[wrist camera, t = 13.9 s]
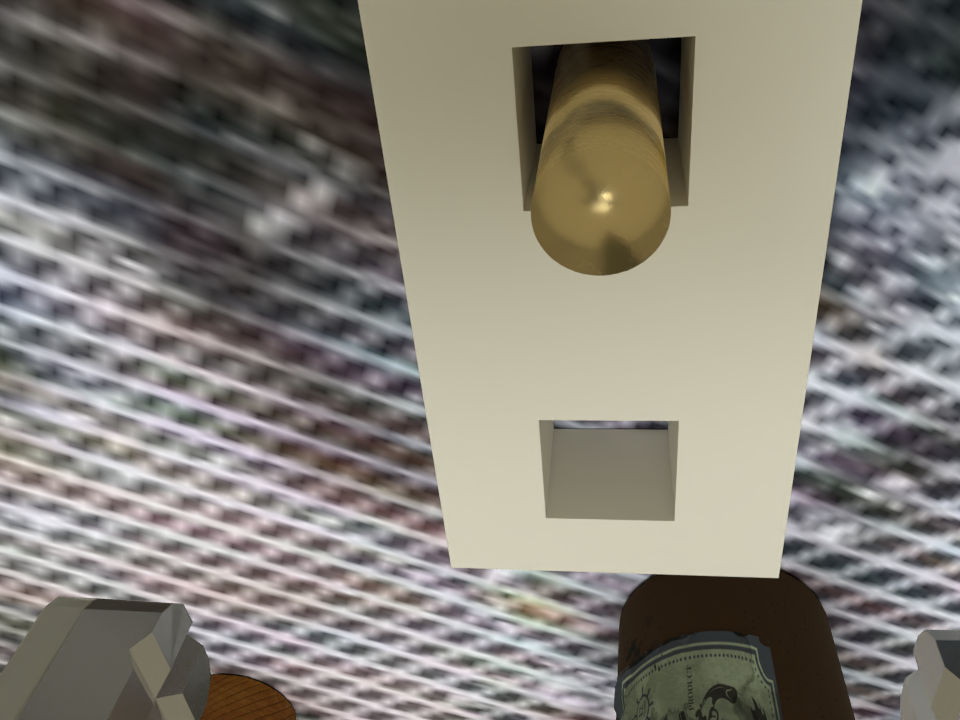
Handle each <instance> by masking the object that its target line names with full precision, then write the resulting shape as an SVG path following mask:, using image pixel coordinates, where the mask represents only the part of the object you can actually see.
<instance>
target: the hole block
mask: <svg viewBox="0 0 960 720" xmlns="http://www.w3.org/2000/svg"><path fill="white" fill-rule="evenodd" d="M358 5H359V11H360V17H361V24H362V30H363V36H364V42H365V48H366V54H367V60H368V66H369V72H370V78H371V84H372V90H373V96H374V102H375V108H376V114H377V120H378V126H379V132H380V138H381V144H382V150H383V157H384V163H385V169H386V175H387V181H388V187H389V193H390V199H391V205H392V211H393V217H394V223H395V229H396V235H397V241H398V247H399V253H400V259H401V265H402V271H403V277H404V283H405V290H406V296H407V302H408V308H409V314H410V320H411V326H412V332H413V338H414V344H415V350H416V356H417V362H418V368H419V374H420V380H421V386H422V392H423V398H424V404H425V410H426V416H427V423H428V429H429V435H430V441H431V447H432V453H433V459H434V465H435V471H436V477H437V483H438V489H439V495H440V501H441V507H442V513H443V519H444V525H445V531H446V537H447V543H448V550H449V556H450V562H451V567H454V568H484V569H515V570H545V571H576V572H606V573H637V574H667V575H698V576H729V577H759V578H779V572H780V565H781V558H782V551H783V545H784V538H785V531H786V524H787V517H788V510H789V503H790V496H791V489H792V482H793V476H794V469H795V462H796V455H797V448H798V441H799V434H800V427H801V420H802V414H803V407H804V400H805V393H806V386H807V379H808V372H809V365H810V358H811V351H812V345H813V338H814V331H815V324H816V317H817V310H818V303H819V296H820V289H821V282H822V276H823V269H824V262H825V255H826V248H827V241H828V234H829V227H830V220H831V213H832V207H833V200H834V193H835V186H836V179H837V172H838V165H839V158H840V151H841V144H842V138H843V131H844V124H845V117H846V110H847V103H848V96H849V89H850V82H851V76H852V69H853V62H854V55H855V48H856V41H857V34H858V27H859V20H860V13H861V7H862V0H358ZM673 37H681V65H680V94H679V123H678V138H663V141H664V150H665V159H666V167H667V176H668V185H669V194H670V202H671V219H670V224H669V228H668V231H667V233H666V236H665V238H664V240H663V241H662V243H661V245H660V246H659V247H658V249H657V250H656V251H655V252H654V253H653V254H652V255H651V256H650V257H649V258H648V259H647V260H645V261H644V262H643V263H641V264H639V265H638V266H636V267H634V268H632V269H630V270H628V271H625V272H621V273H618V274H613V275H604V276H596V275H587V274H582V273H578V272H575V271H572V270H570V269H567V268H565V267H564V266H562V265H560V264H559V263H557V262H556V261H554V260H553V259H552V258H551V257H550V256H549V255H548V254H547V253H546V252H545V251H544V250H543V248H542V247H541V245H540V244H539V242H538V241H537V238H536V236H535V234H534V231H533V227H532V223H531V204H532V198H533V192H534V187H535V181H536V176H537V170H538V165H539V159H540V154H541V148H542V144H537V141H536V124H535V108H534V91H533V75H532V58H531V46H543V45H559V44H576V43H592V42H608V41H625V40H641V39H657V38H673ZM553 420H609V421H668V430H650V429H554V421H553Z"/></svg>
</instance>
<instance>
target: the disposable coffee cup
mask: <svg viewBox="0 0 960 720" xmlns="http://www.w3.org/2000/svg"><path fill="white" fill-rule="evenodd" d="M200 720H296V715H295V712H294V709H293V708H292V706H291V704H290V703H289V702H288V701H287V700H286V699H285V698H284V697H283V696H282V695H281V694H280V693H278V692H277V691H276V690H274V689H272V688H271V687H269V686H267V685H265V684H263V683H261V682H258V681H255V680H252V679H249V678H246V677H241V676H236V675H213V676H211V680H210V687H209V693H208V700H207V704H206V707H205V709H204V712H203V714H202V717H201V719H200Z"/></svg>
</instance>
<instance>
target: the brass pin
mask: <svg viewBox="0 0 960 720" xmlns="http://www.w3.org/2000/svg"><path fill="white" fill-rule="evenodd" d="M670 219H671V202H670V194H669V185H668V176H667V167H666V159H665V150H664V141H663V133H662V124H661V115H660V106H659V98H658V89H657V80H656V72H655V63H654V57H653V53H652V50H651V48H650V46H649V44H648V42H647V41H646V39H641V40H625V41H608V42H592V43H576V44H564V46H563V47H562V49H561V51H560V54H559V57H558V60H557V65H556V71H555V76H554V82H553V87H552V93H551V98H550V104H549V109H548V115H547V120H546V126H545V132H544V137H543V143H542V148H541V154H540V159H539V165H538V170H537V176H536V181H535V187H534V192H533V198H532V204H531V223H532V227H533V231H534V234H535V236H536V238H537V241H538V242H539V244H540V245H541V247H542V248H543V250H544V251H545V252H546V253H547V254H548V255H549V256H550V257H551V258H552V259H553V260H554V261H556V262H557V263H559V264H560V265H562V266H564V267H565V268H567V269H570V270H572V271H575V272H578V273H582V274H587V275H596V276H604V275H613V274H618V273H621V272H625V271H628V270H630V269H632V268H634V267H636V266H638V265H639V264H641V263H643V262H644V261H645V260H647V259H648V258H649V257H650V256H651V255H652V254H653V253H654V252H655V251H656V250H657V249H658V247H659V246H660V245H661V243H662V241H663V240H664V238H665V236H666V233H667V231H668V228H669V224H670Z"/></svg>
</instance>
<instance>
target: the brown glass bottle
mask: <svg viewBox="0 0 960 720" xmlns="http://www.w3.org/2000/svg"><path fill="white" fill-rule="evenodd" d="M617 679H618V681H617V683H616V686H615V698H614V709H615V711H616V720H855V717H854V714H853V710H852V706H851V703H850V699H849V696H848V692H847V688H846V684H845V681H844V677H843V673H842V670H841V666H840V662H839V659H838V655H837V651H836V648H835V644H834V640H833V637H832V633H831V629H830V626H829V623H828V619H827V616H826V613H825V611H824V609H823V607H822V605H821V603H820V601H819V600H818V598H817V597H816V596H815V595H814V594H813V592H812V591H811V590H810V589H808V588H807V587H806V586H805V585H804V584H802V583H801V582H800V581H798V580H797V579H795V578H793V577H791V576H790V575H788V574H786V573H783V572H781V571H780V572H779V578H759V577H729V576H698V575H667V574H658V575H656V576H655V577H653V578H651V579H650V580H648V581H647V582H645V583H644V584H643V585H641V586H640V587H639V588H638V589H637V590H636V591H635V592H634V593H633V594H632V595H631V596H630V598H629V599H628V601H627V602H626V604H625V606H624V608H623V611H622V614H621V619H620V626H619V649H618V677H617Z"/></svg>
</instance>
